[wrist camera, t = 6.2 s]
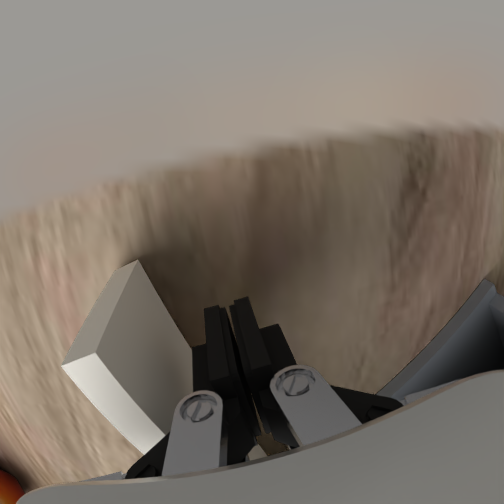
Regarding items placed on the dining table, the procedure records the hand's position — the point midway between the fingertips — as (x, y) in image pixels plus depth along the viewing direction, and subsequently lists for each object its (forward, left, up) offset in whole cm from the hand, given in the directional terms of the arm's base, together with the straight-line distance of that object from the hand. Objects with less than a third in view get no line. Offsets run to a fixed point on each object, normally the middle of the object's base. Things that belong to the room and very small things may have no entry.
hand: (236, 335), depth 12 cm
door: (-6, -3, -3) cm, 7 cm away
